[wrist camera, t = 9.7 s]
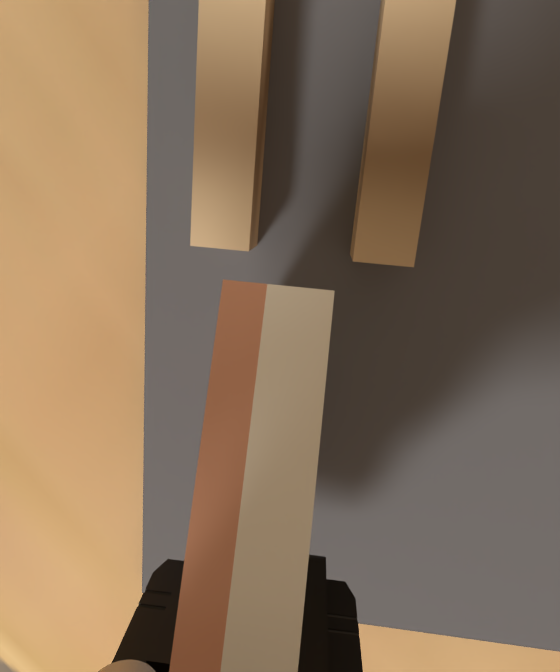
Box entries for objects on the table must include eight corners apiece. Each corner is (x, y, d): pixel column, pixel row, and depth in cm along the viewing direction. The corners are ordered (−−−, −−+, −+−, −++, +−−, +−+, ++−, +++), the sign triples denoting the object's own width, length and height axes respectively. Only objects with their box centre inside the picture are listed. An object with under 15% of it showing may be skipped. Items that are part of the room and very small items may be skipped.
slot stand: (217, -49, 12) (201, -83, 11) (449, -35, 12) (466, -69, 10) (204, 240, 14) (190, 245, 13) (404, 259, 14) (413, 267, 12)
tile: (222, 278, 9) (142, 862, 7) (334, 290, 9) (277, 884, 7) (251, 338, 15) (210, 670, 13) (318, 345, 15) (284, 680, 13)
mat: (157, -65, 13) (149, -77, 12) (821, -27, 12) (845, -38, 11) (147, 580, 18) (142, 592, 18) (600, 642, 17) (609, 658, 17)
